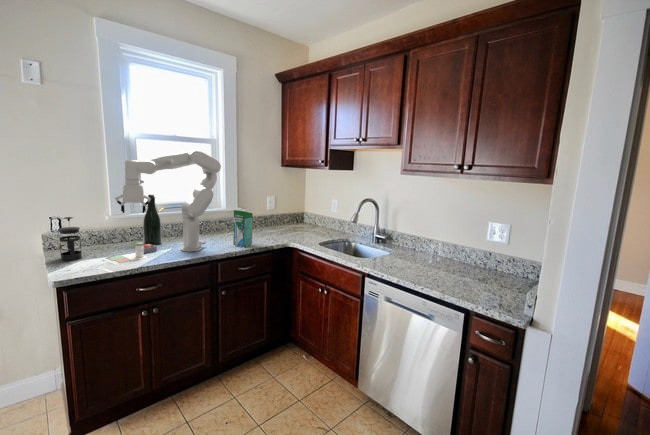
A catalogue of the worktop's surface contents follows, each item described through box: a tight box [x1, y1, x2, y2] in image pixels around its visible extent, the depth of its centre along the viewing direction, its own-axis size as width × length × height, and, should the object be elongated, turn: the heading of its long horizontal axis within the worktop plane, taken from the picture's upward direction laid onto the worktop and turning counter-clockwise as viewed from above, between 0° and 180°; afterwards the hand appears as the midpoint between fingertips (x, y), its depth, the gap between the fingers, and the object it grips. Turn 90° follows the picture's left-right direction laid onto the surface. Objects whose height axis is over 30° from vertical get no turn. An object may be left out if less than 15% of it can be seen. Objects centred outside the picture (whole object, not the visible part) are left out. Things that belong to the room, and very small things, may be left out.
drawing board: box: [101, 252, 149, 265], centre depth 176 cm, size 20×16×1 cm
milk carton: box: [232, 209, 254, 248], centre depth 218 cm, size 9×9×25 cm
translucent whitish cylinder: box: [134, 241, 145, 258], centre depth 179 cm, size 4×4×8 cm
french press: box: [58, 216, 83, 262], centre depth 171 cm, size 12×9×23 cm
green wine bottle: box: [142, 194, 162, 246], centre depth 210 cm, size 10×10×33 cm
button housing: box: [143, 245, 158, 255], centre depth 191 cm, size 7×7×4 cm
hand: (133, 212), depth 179 cm, fingers open, 9 cm apart
